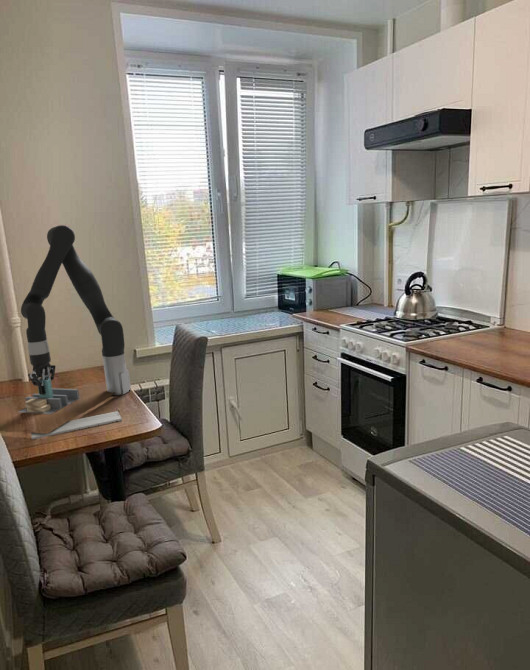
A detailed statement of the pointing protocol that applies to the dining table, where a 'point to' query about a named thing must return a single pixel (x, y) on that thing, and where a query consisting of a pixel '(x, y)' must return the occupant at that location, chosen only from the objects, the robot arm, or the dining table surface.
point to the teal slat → (47, 389)
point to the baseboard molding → (82, 424)
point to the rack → (56, 399)
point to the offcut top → (35, 403)
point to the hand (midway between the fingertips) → (45, 392)
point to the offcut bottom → (42, 409)
